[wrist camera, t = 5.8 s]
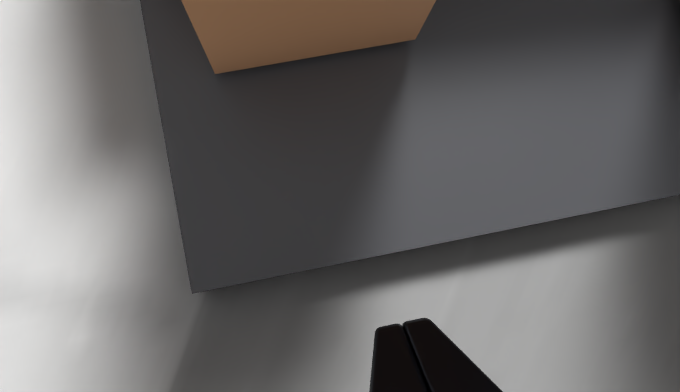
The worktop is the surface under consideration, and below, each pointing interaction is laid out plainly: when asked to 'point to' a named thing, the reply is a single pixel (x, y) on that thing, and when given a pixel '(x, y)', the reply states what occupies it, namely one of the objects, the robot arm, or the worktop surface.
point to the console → (416, 132)
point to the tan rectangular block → (299, 28)
